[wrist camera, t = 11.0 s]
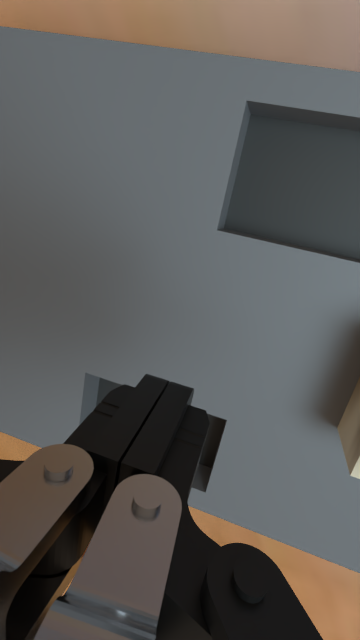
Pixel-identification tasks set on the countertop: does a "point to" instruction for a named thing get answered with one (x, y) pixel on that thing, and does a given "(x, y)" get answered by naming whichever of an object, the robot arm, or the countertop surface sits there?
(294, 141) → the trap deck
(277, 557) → the countertop surface
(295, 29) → the countertop surface
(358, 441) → the birch block
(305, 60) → the countertop surface
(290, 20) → the countertop surface
